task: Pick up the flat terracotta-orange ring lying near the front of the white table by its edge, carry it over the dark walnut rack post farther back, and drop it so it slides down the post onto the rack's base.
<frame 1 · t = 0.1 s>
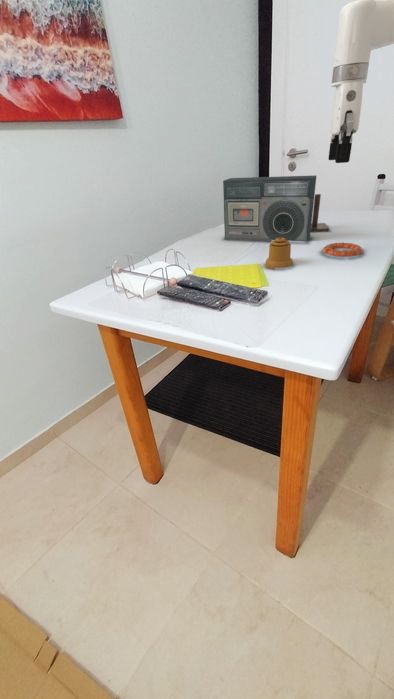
hand: (338, 161, 87), 25 cm above the table, tool pointing down, fingers open, 9 cm apart
cassette player: (266, 240, 121), on the table
ornamental finial: (278, 267, 96), on the table
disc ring: (342, 250, 101), point 1 cm above the table
rack: (313, 230, 128), on the table
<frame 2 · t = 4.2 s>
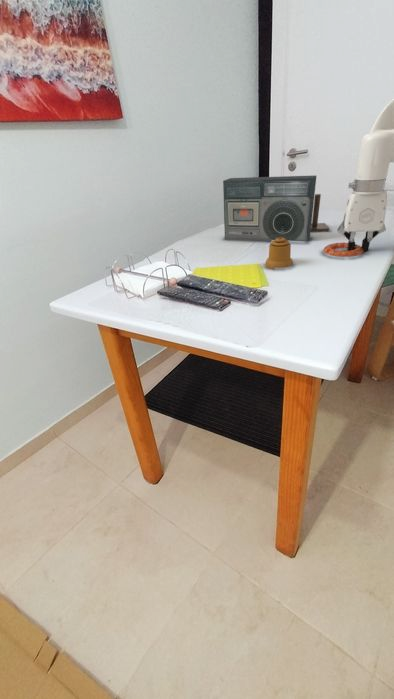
hand: (356, 253, 100), 0 cm above the table, tool pointing down, fingers closed on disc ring, 2 cm apart
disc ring: (343, 250, 100), point 1 cm above the table, touching gripper
everything else where it was.
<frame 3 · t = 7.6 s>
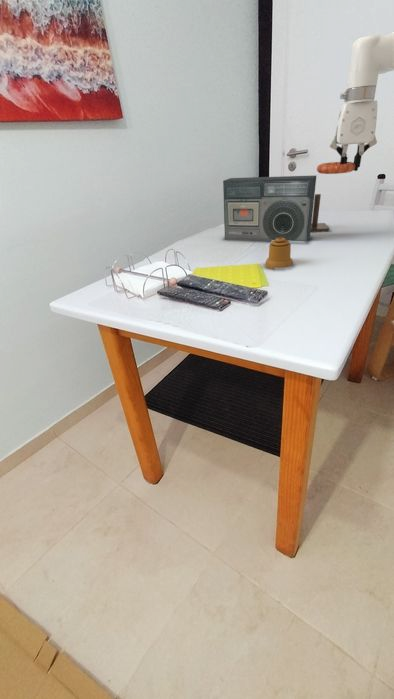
hand: (349, 170, 103), 21 cm above the table, tool pointing down, fingers closed on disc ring, 2 cm apart
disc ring: (335, 167, 103), point 22 cm above the table, touching gripper
everything else where it was.
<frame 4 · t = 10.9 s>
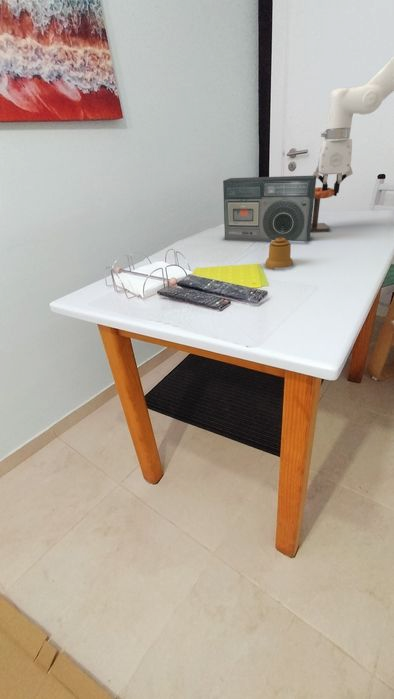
hand: (329, 195, 120), 12 cm above the table, tool pointing down, fingers closed on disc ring, 2 cm apart
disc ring: (318, 192, 121), point 13 cm above the table, touching gripper
everything else where it was.
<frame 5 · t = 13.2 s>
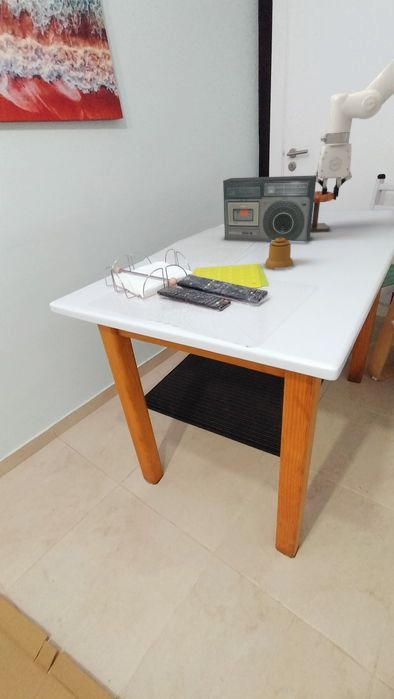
hand: (329, 199, 121), 11 cm above the table, tool pointing down, fingers closed on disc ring, 2 cm apart
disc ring: (317, 196, 121), point 12 cm above the table, touching gripper
everything else where it was.
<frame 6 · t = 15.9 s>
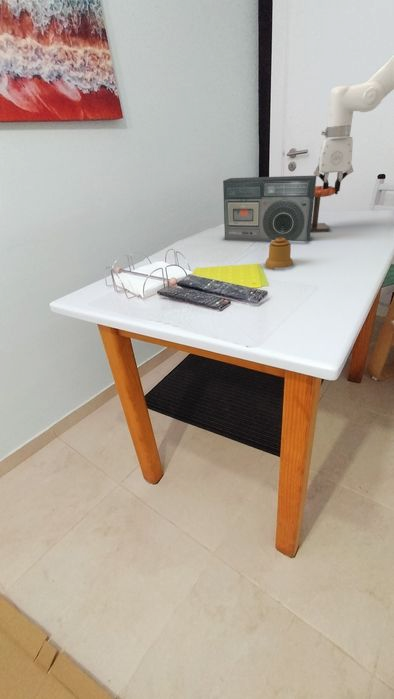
hand: (330, 193, 120), 13 cm above the table, tool pointing down, fingers closed on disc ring, 2 cm apart
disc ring: (319, 191, 120), point 13 cm above the table, touching gripper
everything else where it was.
when the fingers open (13 cm above the table, at t = 17.8 s): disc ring drops 11 cm, resting on rack.
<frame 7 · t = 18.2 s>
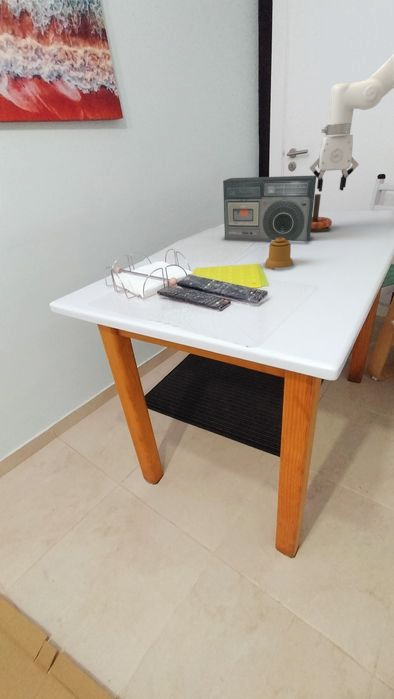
hand: (330, 190, 120), 14 cm above the table, tool pointing down, fingers open, 6 cm apart
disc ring: (316, 222, 126), point 3 cm above the table, touching rack
everything else where it was.
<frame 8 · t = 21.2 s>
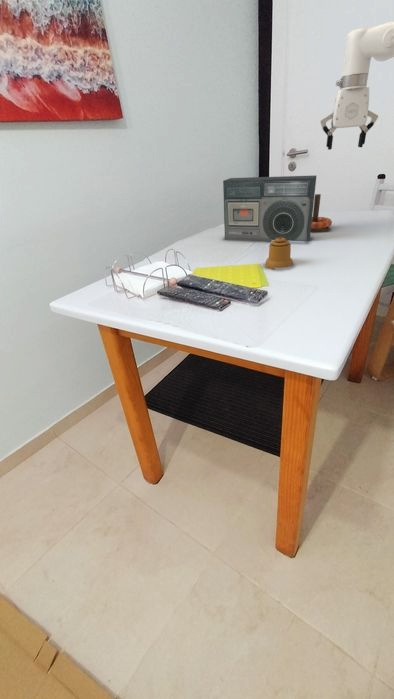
hand: (344, 148, 112), 26 cm above the table, tool pointing down, fingers open, 9 cm apart
nothing on the table moved.
at the end: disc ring 0.6 cm off-centre on the rack, point 2.7 cm above the rack's base; the gripper is holding nothing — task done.
